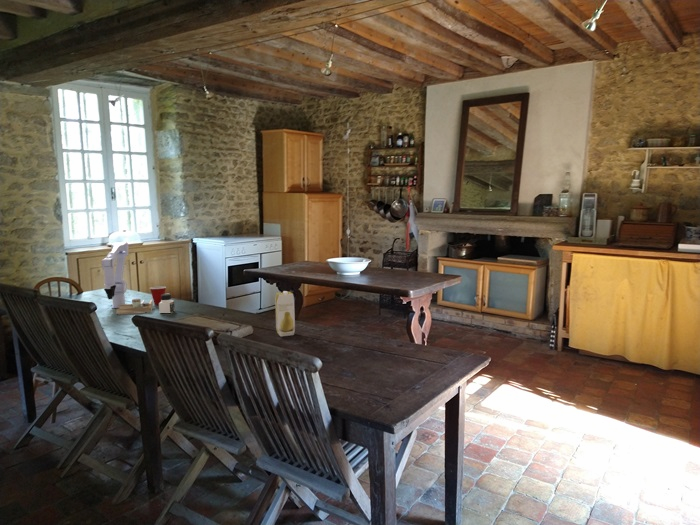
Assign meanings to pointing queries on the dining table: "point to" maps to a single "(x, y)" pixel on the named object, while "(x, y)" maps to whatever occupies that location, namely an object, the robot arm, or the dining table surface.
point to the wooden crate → (129, 308)
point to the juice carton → (285, 313)
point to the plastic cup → (157, 293)
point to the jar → (136, 303)
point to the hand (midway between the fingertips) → (111, 297)
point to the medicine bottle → (166, 304)
